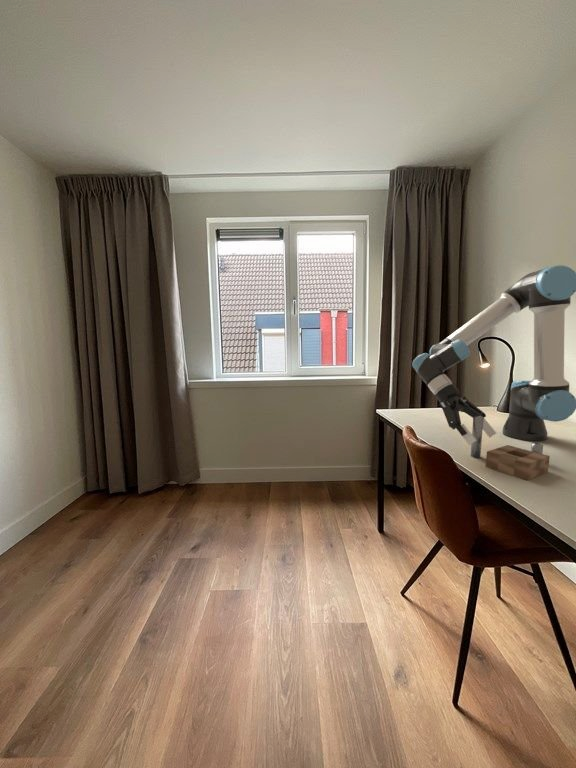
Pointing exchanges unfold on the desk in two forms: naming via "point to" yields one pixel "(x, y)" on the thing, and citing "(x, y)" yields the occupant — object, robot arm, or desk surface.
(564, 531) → the desk surface
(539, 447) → the short pin
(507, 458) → the block
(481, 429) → the long pin
